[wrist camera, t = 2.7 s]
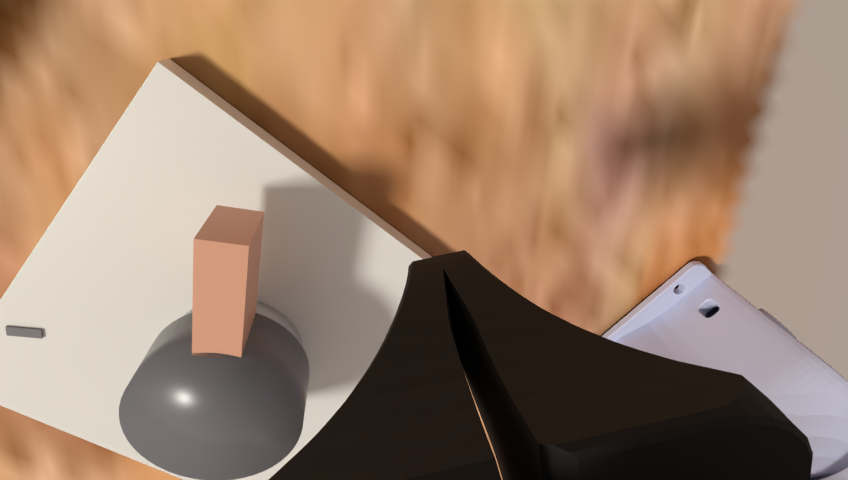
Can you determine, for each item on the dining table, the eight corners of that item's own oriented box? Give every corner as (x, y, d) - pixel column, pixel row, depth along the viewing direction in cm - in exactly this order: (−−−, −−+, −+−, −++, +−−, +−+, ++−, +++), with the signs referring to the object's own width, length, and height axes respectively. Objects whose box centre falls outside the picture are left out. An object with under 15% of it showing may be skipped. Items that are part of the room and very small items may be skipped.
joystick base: (169, 58, 16) (144, 65, 14) (499, 307, 22) (511, 334, 20) (-37, 366, 20) (-75, 401, 18) (289, 503, 26) (283, 540, 24)
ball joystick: (301, 431, 21) (294, 483, 19) (150, 422, 20) (122, 477, 17) (332, 221, 17) (327, 256, 14) (142, 194, 15) (105, 227, 13)
